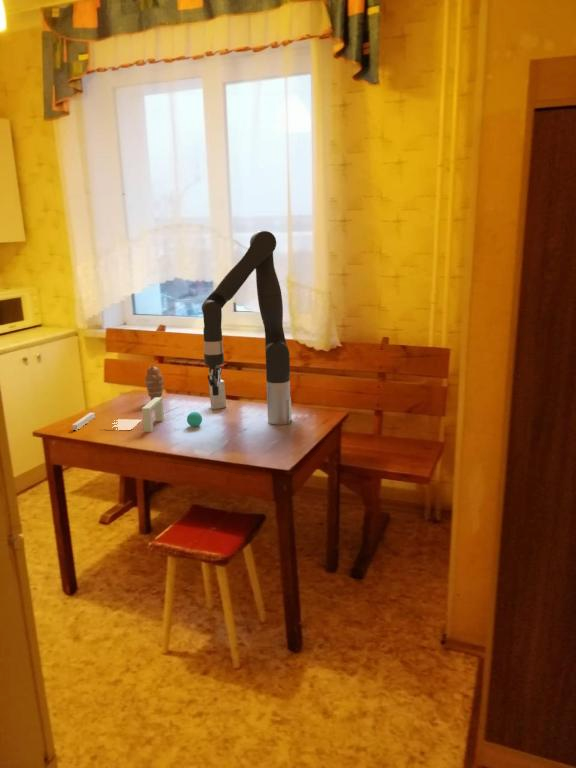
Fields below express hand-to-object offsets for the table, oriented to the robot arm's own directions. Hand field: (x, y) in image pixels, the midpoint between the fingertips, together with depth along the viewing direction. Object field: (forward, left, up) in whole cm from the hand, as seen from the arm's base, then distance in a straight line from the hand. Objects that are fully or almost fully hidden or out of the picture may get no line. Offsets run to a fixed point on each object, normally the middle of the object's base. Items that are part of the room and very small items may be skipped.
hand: (215, 395), depth 235 cm
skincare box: (+6, -26, -14) cm, 30 cm away
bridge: (+26, 0, -13) cm, 30 cm away
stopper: (+56, 0, -13) cm, 58 cm away
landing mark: (+40, 0, -13) cm, 43 cm away
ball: (+9, 0, -10) cm, 14 cm away
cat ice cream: (+36, -30, -14) cm, 49 cm away
